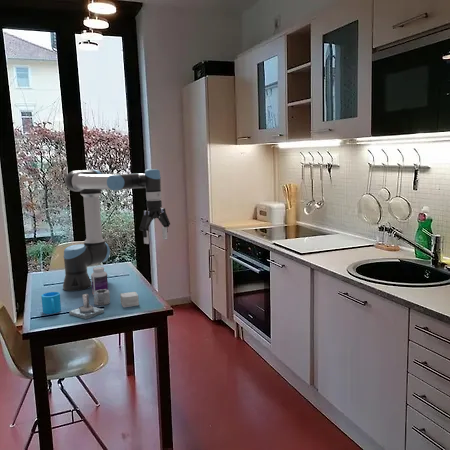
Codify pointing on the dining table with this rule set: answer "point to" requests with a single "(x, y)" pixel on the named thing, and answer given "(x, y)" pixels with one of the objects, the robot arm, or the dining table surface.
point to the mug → (51, 302)
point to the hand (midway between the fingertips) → (156, 241)
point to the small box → (129, 299)
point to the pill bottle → (99, 279)
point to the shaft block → (86, 309)
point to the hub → (101, 297)
